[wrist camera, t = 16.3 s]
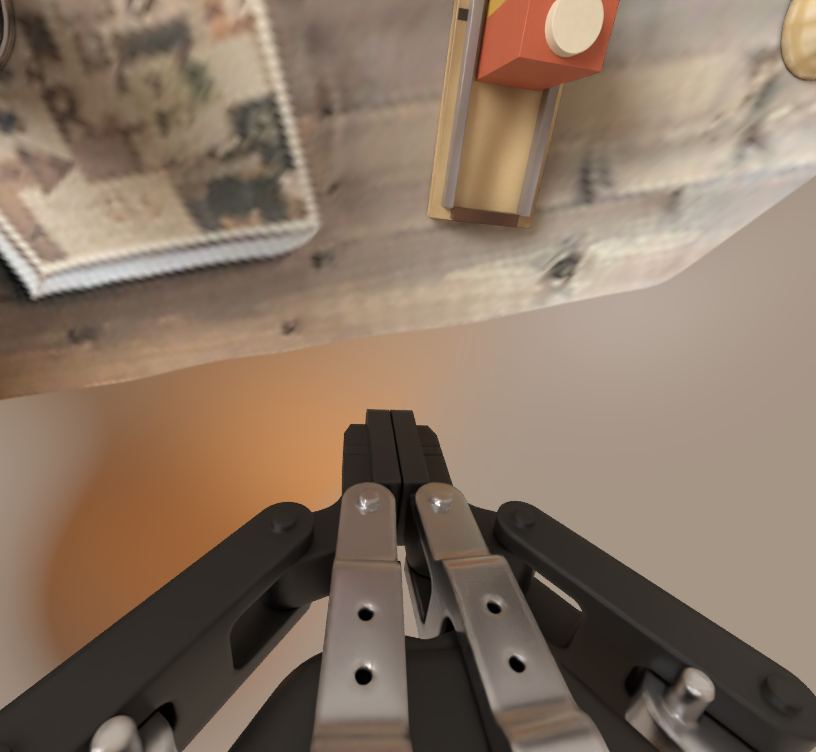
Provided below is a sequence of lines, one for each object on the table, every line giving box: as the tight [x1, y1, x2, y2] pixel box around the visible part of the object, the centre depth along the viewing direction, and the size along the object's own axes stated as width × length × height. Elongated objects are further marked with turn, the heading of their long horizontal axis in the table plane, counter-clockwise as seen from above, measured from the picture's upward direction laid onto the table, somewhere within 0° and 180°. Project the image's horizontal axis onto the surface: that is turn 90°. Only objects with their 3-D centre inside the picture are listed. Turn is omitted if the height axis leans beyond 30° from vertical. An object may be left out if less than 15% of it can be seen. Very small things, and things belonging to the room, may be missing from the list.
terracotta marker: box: [475, 0, 619, 91], centre depth 27 cm, size 5×4×10 cm
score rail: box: [427, 0, 564, 228], centre depth 32 cm, size 9×20×3 cm, turn 173°
